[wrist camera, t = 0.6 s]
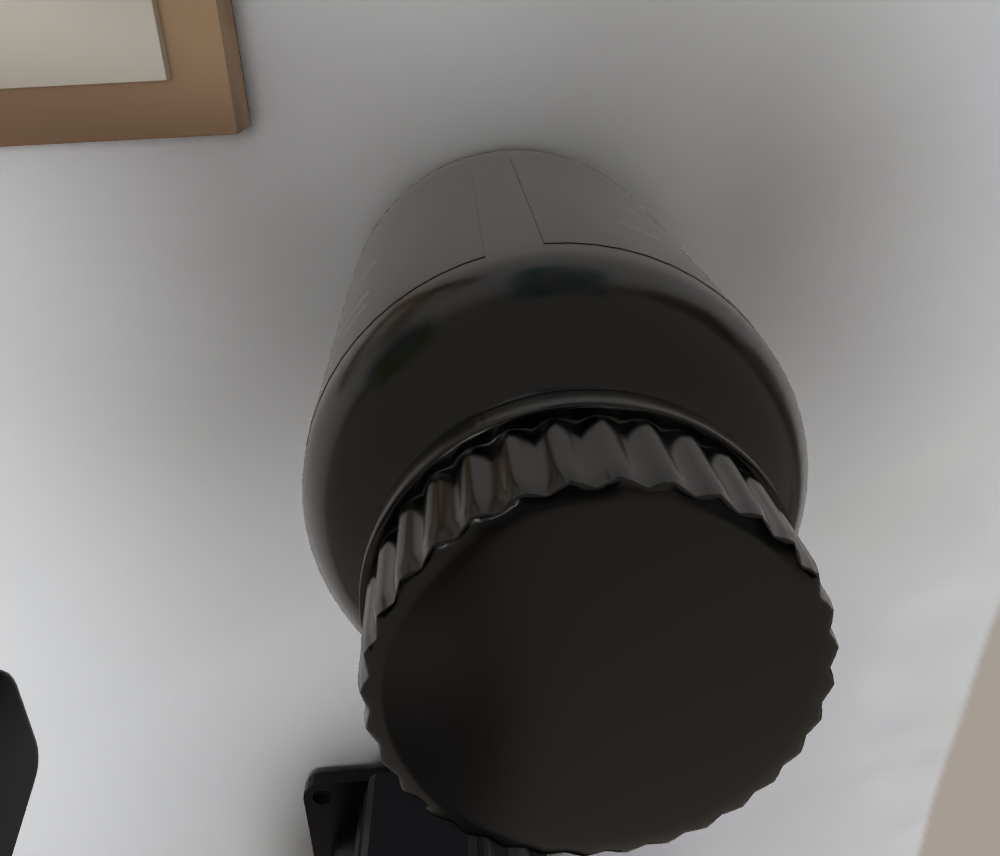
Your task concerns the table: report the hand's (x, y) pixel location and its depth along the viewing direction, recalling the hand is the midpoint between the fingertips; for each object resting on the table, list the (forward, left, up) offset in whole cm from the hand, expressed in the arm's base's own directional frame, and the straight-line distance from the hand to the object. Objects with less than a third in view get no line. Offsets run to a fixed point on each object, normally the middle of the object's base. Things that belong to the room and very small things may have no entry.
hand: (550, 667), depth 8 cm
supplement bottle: (-1, 0, -13) cm, 13 cm away
